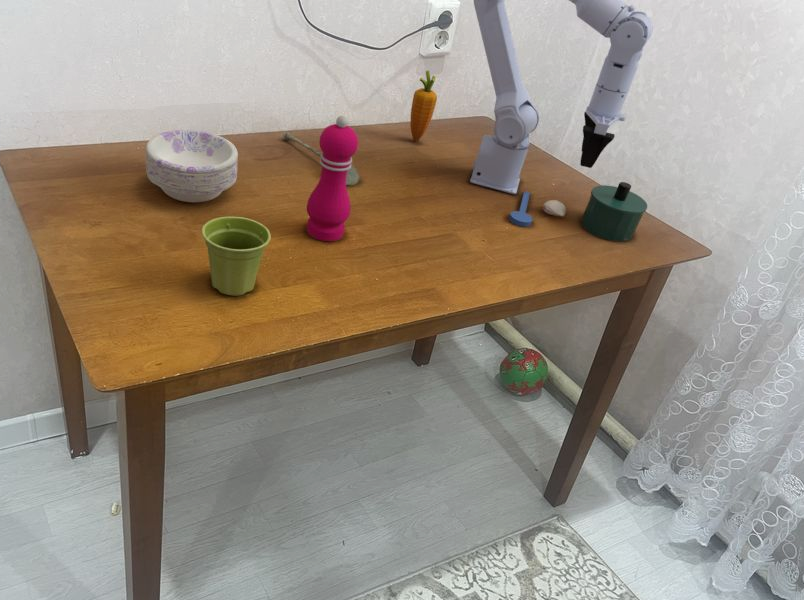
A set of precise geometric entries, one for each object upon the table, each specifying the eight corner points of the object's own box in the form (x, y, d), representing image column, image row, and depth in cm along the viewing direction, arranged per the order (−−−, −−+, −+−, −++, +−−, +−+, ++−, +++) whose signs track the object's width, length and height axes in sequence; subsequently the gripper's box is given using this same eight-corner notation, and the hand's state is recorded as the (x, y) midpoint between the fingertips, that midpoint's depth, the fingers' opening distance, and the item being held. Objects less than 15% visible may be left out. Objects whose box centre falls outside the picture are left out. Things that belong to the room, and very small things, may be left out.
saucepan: (580, 232, 134) (592, 204, 130) (582, 210, 142) (593, 183, 138) (632, 246, 133) (645, 218, 129) (631, 224, 140) (643, 197, 137)
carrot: (425, 148, 155) (441, 78, 145) (402, 143, 155) (417, 73, 146) (427, 140, 159) (443, 72, 149) (405, 135, 159) (420, 66, 150)
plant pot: (202, 264, 107) (204, 212, 101) (265, 269, 108) (270, 219, 103) (197, 300, 99) (199, 246, 94) (265, 305, 101) (270, 253, 95)
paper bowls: (157, 214, 116) (157, 169, 111) (138, 172, 126) (137, 129, 121) (247, 208, 122) (250, 165, 117) (221, 169, 132) (223, 127, 127)
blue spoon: (507, 222, 133) (509, 218, 132) (515, 192, 144) (517, 187, 143) (529, 228, 132) (531, 224, 131) (536, 197, 143) (537, 193, 143)
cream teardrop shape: (555, 208, 141) (560, 197, 139) (570, 221, 137) (574, 209, 136) (537, 209, 139) (541, 197, 138) (551, 222, 136) (556, 210, 134)
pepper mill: (351, 229, 122) (372, 115, 109) (337, 247, 116) (357, 129, 104) (312, 217, 123) (328, 103, 111) (297, 235, 118) (312, 117, 105)
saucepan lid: (589, 207, 131) (597, 188, 128) (590, 185, 139) (597, 167, 136) (646, 222, 129) (655, 203, 127) (644, 199, 137) (652, 181, 135)
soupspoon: (338, 191, 134) (364, 187, 138) (341, 175, 132) (368, 171, 135) (273, 140, 145) (299, 137, 149) (275, 124, 143) (301, 122, 147)
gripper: (636, 103, 121) (607, 178, 129) (634, 81, 132) (607, 150, 140) (594, 94, 122) (568, 168, 130) (595, 72, 133) (571, 142, 141)
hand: (586, 159), depth 135 cm, fingers open, 7 cm apart
